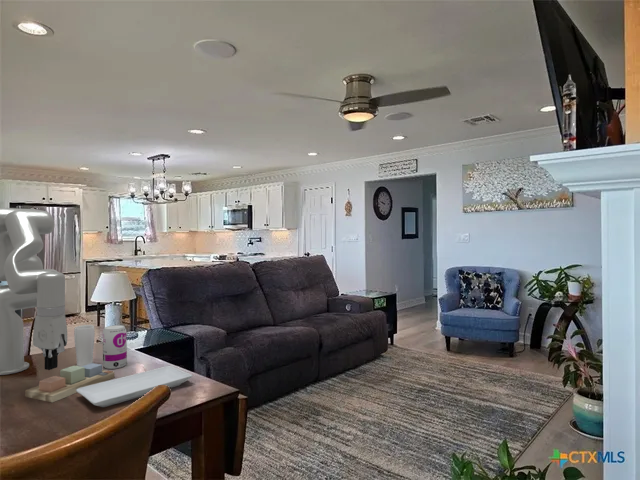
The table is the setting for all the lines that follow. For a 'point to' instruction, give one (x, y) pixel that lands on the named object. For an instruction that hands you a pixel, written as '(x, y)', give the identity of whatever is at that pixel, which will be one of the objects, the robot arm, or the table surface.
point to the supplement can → (114, 346)
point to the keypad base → (68, 388)
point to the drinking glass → (84, 344)
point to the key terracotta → (52, 384)
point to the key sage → (73, 374)
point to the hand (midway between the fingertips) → (51, 368)
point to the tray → (132, 386)
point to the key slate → (92, 370)
